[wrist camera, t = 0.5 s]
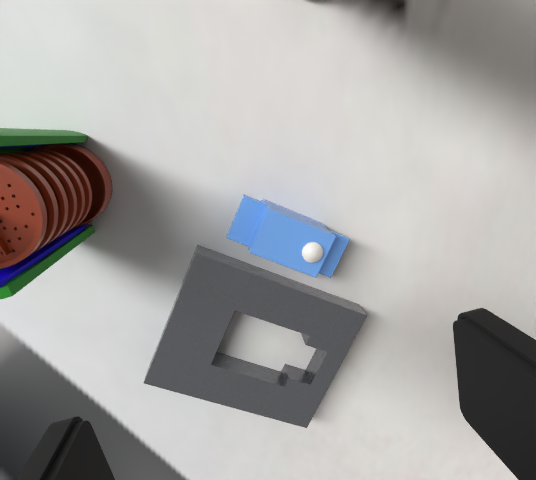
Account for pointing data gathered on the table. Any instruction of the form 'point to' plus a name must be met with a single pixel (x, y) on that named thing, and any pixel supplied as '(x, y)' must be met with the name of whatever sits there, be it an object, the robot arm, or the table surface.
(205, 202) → the table surface
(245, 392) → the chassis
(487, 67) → the table surface
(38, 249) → the motor
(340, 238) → the servo
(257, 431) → the table surface
